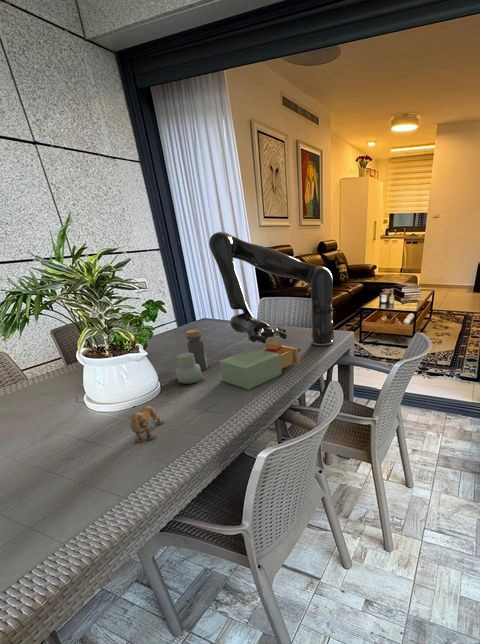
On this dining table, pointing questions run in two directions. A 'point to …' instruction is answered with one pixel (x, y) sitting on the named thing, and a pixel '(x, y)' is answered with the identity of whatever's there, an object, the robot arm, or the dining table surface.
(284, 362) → the drawer
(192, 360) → the air freshener
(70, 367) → the dining table surface
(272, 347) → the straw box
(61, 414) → the dining table surface
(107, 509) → the dining table surface
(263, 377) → the cabinet
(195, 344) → the bottle
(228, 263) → the robot arm
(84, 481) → the dining table surface
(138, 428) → the lion figurine
